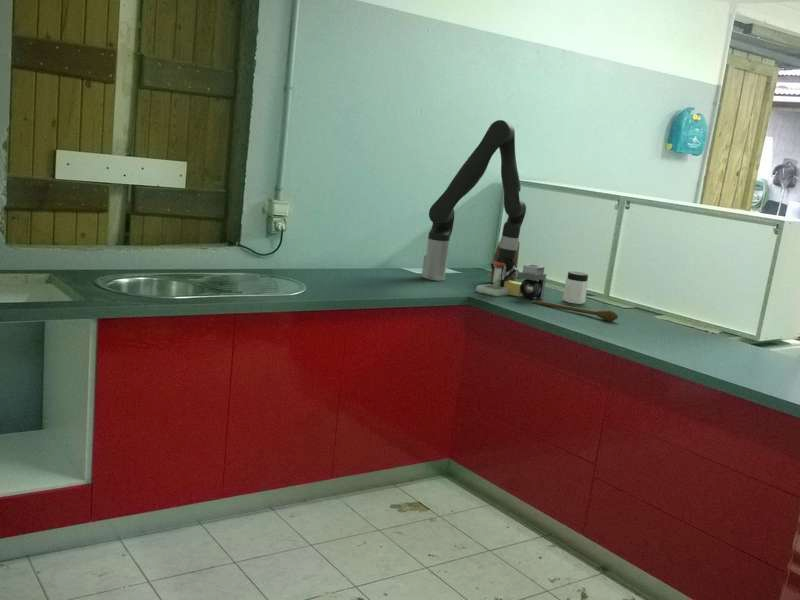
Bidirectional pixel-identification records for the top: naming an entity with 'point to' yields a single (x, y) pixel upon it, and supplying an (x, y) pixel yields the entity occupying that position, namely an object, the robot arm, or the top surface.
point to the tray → (492, 290)
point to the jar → (575, 287)
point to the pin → (497, 274)
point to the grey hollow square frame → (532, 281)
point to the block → (511, 269)
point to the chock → (513, 288)
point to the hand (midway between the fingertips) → (500, 287)
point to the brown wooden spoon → (583, 310)
